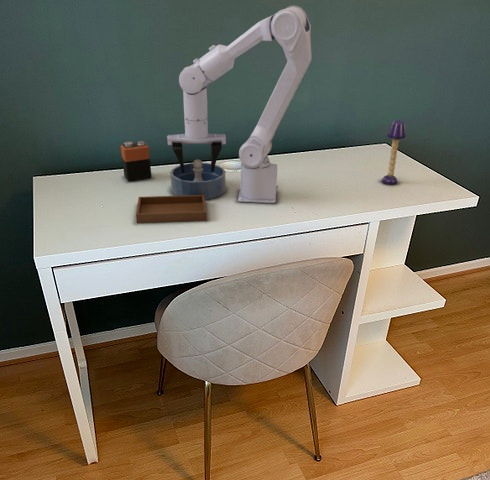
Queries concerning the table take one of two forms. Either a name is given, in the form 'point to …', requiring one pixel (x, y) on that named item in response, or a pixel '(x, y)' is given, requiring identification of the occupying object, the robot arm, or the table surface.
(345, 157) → the table surface
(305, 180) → the table surface
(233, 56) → the robot arm
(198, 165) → the chess piece
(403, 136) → the toy lamp
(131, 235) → the table surface
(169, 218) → the tray
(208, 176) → the bowl
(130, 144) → the battery
